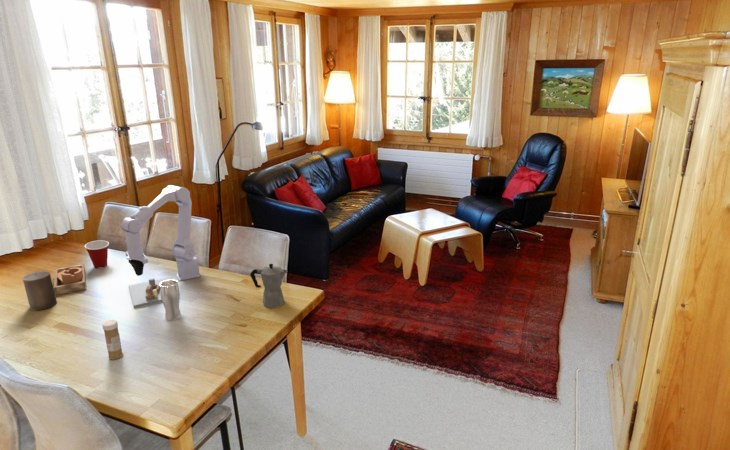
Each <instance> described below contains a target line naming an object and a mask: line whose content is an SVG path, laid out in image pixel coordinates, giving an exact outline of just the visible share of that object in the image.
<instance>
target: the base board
mask: <svg viewBox="0 0 730 450" xmlns="http://www.w3.org/2000/svg"><path fill="white" fill-rule="evenodd" d="M166 280H173V279H172V277H171V276H169V277H165V278H164V277H163V278H159V279H155V278H149V279H148V281H144V282H140V283H134V284H130V285H128V289H129V293H130V297H131V301H132V304H133V308H134V309H137V308H142V307H146V306H149V305H154V304H160V303H163V302H162V299H161V294H160V289H159V292H157V289H155V288H156V284H160V283H161V282H163V281H166ZM148 285H151V286H152V289H154V290H153V296H154V298H151V299H146V297H145V296H146V294H147V293H146V291H145V290H146V288H147V286H148Z"/></svg>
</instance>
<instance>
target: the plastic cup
mask: <svg viewBox="0 0 730 450" xmlns="http://www.w3.org/2000/svg"><path fill="white" fill-rule="evenodd" d="M109 244H110V242H109V241H107V240H104V239H103V240H102V239H101V240H92V241H89V242H87V243H85V244H84V248H85V250H86V251H87V254H88V256H89V259H90V261H91V263H92V265H93V267H94V268H95V269H103V268H105V267H107V266H108V259H109V257H108V250H109V249H108V248H109V246H110V245H109Z"/></svg>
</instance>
